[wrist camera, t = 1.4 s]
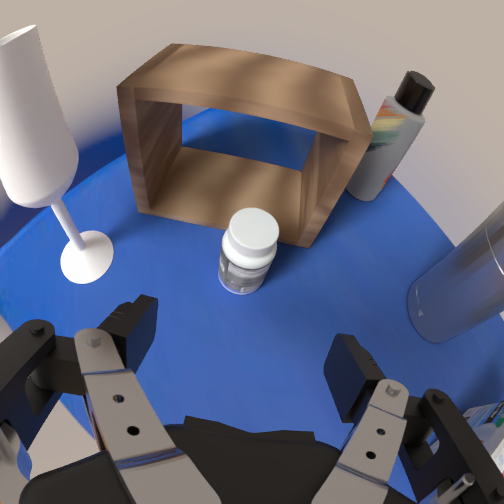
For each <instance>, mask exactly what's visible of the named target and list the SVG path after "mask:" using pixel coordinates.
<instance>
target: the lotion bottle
mask: <svg viewBox="0 0 504 504" xmlns="http://www.w3.org/2000/svg"><path fill="white" fill-rule="evenodd" d="M434 90H435V87H434V86H433V85H432V83H431V82H430V81H429V80H428V79H427V78H426V77H425V76H423V75H422V74H420V73H418V72H415V71H410V72H409V71H407V73H406V75H405V77H404V79H403V81H402V82H401V85H400V86H399V88H398V90H397V93H396V94H395V96H387V97H386V98H385V100H384V102H383V104H382V106H381V108H380V110H379V112H378V114H377V116H376V118H375V120H374V122H373V124H372V126H371V129H372V132H373V135H374V137H373V139H372V140H371V142H370V144H369V146H368V148H367V150H366V152H365V153H364V155H363V157H362V159H361V161H360V162H359V164H358V166H357V168H356V170H355V171H354V173H353V175H352V177H351V178H350V180H349V182H348V184H347V185H346V189H347V191H348V192H349V193H350V194H351V195H352V196H354V197H355V198H357V199H359V200H362V201H372V200H374V199H375V198H376V197H377V195H378V194H379V193H380V191H381V190H382V188H383V187H384V185H385V184H386V182H387V181H388V180H389V178H390V177H391V175H392V173H393V172H394V171H395V169H396V168H397V166H398V164H399V163H400V161H401V160H402V158H403V157H404V155H405V154H406V152H407V150H408V149H409V147H410V146H411V144H412V143H413V141H414V140H415V138H416V136H417V135H418V133H419V131H420V130H421V128H422V126H423V125H424V123H425V119H424V117H423V115H422V112H423V110H424V109H425V107H426V105H427V103H428V101H429V100H430V98H431V96H432V94H433V92H434Z"/></svg>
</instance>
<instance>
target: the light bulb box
mask: <svg viewBox="0 0 504 504" xmlns="http://www.w3.org/2000/svg"><path fill="white" fill-rule="evenodd" d="M463 417H464V418H465V419H466V421H467V422H468V424H469V425H470V426H471V428H472V429H473V431H474V432H475V434H476V435H477V436H478V438H479V439H480V441H481V442H482V444H483V445H484V447H485V448H486V450H487V451H488V453H489V454H490V456H491V457H492V459H493V460H494V462H495V464H496V465H497V467H498V468H499V470H500V472H501V473H502V475H503V476H504V401H501V402H497V403H493V404H489V405H484V406H479V407H474V408H469V409H468V410H467V411H466V412H465V413H464V414H463ZM430 448H431V450H432V452H433V454H435V452H436V451H437V450H438V448H439V439H438V440H437V441H436V442H435V443H434V444H432V445H431V446H430Z"/></svg>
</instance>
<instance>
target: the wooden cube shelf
mask: <svg viewBox="0 0 504 504" xmlns="http://www.w3.org/2000/svg"><path fill="white" fill-rule="evenodd" d="M117 95H118V104H119V112H120V119H121V126H122V132H123V138H124V144H125V150H126V156H127V161H128V166H129V172H130V177H131V181H132V186H133V191H134V195H135V200H136V204H137V208H138V212H139V213H144V214H149V215H154V216H159V217H164V218H169V219H174V220H178V221H183V222H188V223H193V224H198V225H203V226H207V227H212V228H217V229H222V230H227V229H228V227H229V224H230V220H231V218H232V217H233V215H234V214H235V213H236V212H238V211H239V210H241V209H244V208H258V209H262V210H264V211H266V212H268V213H269V214H271V215H272V216H273V217H274V219H275V220H276V221H277V224H278V226H279V236H278V239H277V242H282V243H286V244H291V245H295V246H300V247H304V248H308V249H309V248H310V246H311V245H312V243H313V241H314V240H315V238H316V236H317V235H318V233H319V231H320V230H321V228H322V226H323V225H324V223H325V221H326V220H327V218H328V216H329V215H330V213H331V211H332V210H333V208H334V206H335V204H336V203H337V201H338V199H339V198H340V196H341V194H342V192H343V191H344V189H345V187H346V185H347V184H348V182H349V180H350V178H351V177H352V175H353V173H354V171H355V170H356V168H357V166H358V164H359V162H360V161H361V159H362V157H363V155H364V153H365V152H366V150H367V148H368V146H369V144H370V142H371V140H372V139H373V137H374V135H373V132H372V129H371V126H370V124H369V121H368V118H367V115H366V112H365V109H364V107H363V104H362V102H361V99H360V97H359V94H358V91H357V89H356V86H355V84H354V82H353V80H352V79H350V78H348V77H345V76H341V75H339V74H336V73H333V72H330V71H326V70H323V69H320V68H317V67H313V66H310V65H306V64H302V63H298V62H294V61H290V60H287V59H282V58H278V57H273V56H269V55H264V54H258V53H253V52H247V51H241V50H235V49H228V48H220V47H211V46H201V45H188V44H170V45H169V46H167V47H166V48H165V49H163V50H162V51H161V52H159V53H158V54H156V55H155V56H154V57H152V58H151V59H150V60H148V61H147V62H146V63H144V64H143V65H142V66H141V67H140V68H138V69H137V70H136V71H134V72H133V73H132V74H131V75H130V76H128V77H127V78H126V79H125V80H124V81H123V82H121V83H120V84H119V85H118V86H117ZM182 104H187V105H195V106H202V107H209V108H215V109H221V110H227V111H233V112H238V113H243V114H248V115H253V116H258V117H263V118H267V119H272V120H276V121H280V122H284V123H288V124H292V125H296V126H300V127H303V128H307V129H311V130H314V131H317V133H316V136H315V138H314V141H313V143H312V146H311V148H310V151H309V154H308V156H307V159H306V161H305V164H304V166H303V169H302V171H298V170H294V169H290V168H286V167H282V166H278V165H274V164H269V163H265V162H261V161H256V160H252V159H247V158H242V157H237V156H232V155H227V154H222V153H217V152H211V151H206V150H200V149H194V148H188V147H182Z"/></svg>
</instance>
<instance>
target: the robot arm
mask: <svg viewBox="0 0 504 504" xmlns="http://www.w3.org/2000/svg"><path fill="white" fill-rule="evenodd" d="M407 306H408V312H409V315H410V318H411V321H412V323H413V325H414V327H415V329H416V330H417V331H418V333H419V334H420V335H421V336H422V337H423V338H424V339H426V340H427V341H429V342H432V343H442V342H444V341H447V340H449V339H451V338H453V337H455V336H457V335H459V334H461V333H464V332H466V331H468V330H470V329H472V328H473V327H475V326H477V325H479V324H481V323H483V322H485V321H487V320H488V319H490V318H492V317H494V316H495V315H497V314H499V313H501V312H502V311H504V201H503V202H502V203H501V205H499V206H498V208H497V209H496V210H495V211H494V212H493V213H492V214H491V215H490V216H489V217H488V218H487V219H486V220H485V221H484V222H483V223H482V224H481V225H480V226H479V227H478V228H476V229H475V230H474V231H473V232H472V233H471V234H470V235H469V236H468V237H467V238H466V239H465V240H464V241H462V242H461V243H460V244H459V245H458V246H457V247H456V248H455V249H453V250H452V251H451V252H450V253H449V254H448V255H447V256H445V257H444V258H443V259H442V260H441V261H439V262H438V263H437V264H436V265H435V266H433V267H432V268H431V269H430V270H428V271H427V272H426V273H425V274H424V275H422V276H421V277H420V278H419V279H417V280H416V281H415V282H414V283H413V284H412V285H411V287H410V289H409V292H408V297H407ZM157 310H158V299H157V298H154V297H150V296H146V295H143V294H141V295H140V296H139V297H138V298H137V299H136V300H135V301H134V303H131V302H126V303H124V304H121V305H119V306H118V307H117V308H116V309H115V310H114V312H112V313H111V314H110V315H109V316H108V317H107V318H106V319H105V320H104V321H103V322H102V323H101V324H100V325H99V326H98V327H97V328H87V329H83V330H80V331H79V332H77V333H76V334H75V337H74V338H69V337H63V336H57V335H55V329H54V326H53V325H52V324H51V323H50V322H48V321H45V320H40V319H35V320H30V321H27V322H25V323H24V324H22V325H21V326H20V327H19V328H18V329H16V330H15V331H14V332H13V333H12V334H11V335H9V336H8V337H7V338H6V339H5V340H4V341H3V342H1V343H0V504H417V503H418V504H504V476H503V475H502V473H501V472H500V470H499V468H498V467H497V465H496V464H495V462H494V460H493V459H492V457H491V456H490V454H489V453H488V451H487V450H486V448H485V447H484V445H483V444H482V442H481V441H480V439H479V438H478V436H477V435H476V434H475V432H474V431H473V429H472V428H471V426H470V425H469V424H468V422H467V421H466V419H465V418H464V417H463V415H462V414H461V412H460V411H459V410H458V408H457V407H456V406H455V404H454V403H453V402H452V400H451V399H450V398H449V396H448V395H447V394H445V393H444V392H442V391H440V390H437V389H428V390H426V392H425V393H424V395H423V397H422V398H418V397H413V396H409V392H408V390H407V388H406V387H405V386H404V385H402V384H401V383H399V382H397V381H394V380H390V379H387V378H386V377H385V375H384V374H383V372H382V371H381V369H380V368H379V366H377V363H376V362H375V360H374V359H373V357H372V356H371V354H370V353H369V352H368V351H367V350H365V349H364V348H363V347H362V346H360V344H359V343H358V341H357V340H356V338H355V337H354V336H353V335H347V334H337V335H336V336H335V338H334V340H333V343H332V346H331V348H330V351H329V353H328V356H327V358H326V361H325V364H324V375H325V378H326V381H327V383H328V386H329V389H330V391H331V394H332V397H333V399H334V402H335V405H336V407H337V410H338V413H339V415H340V418H341V421H342V423H354V426H353V427H352V429H351V430H350V432H349V434H348V436H347V437H346V439H345V441H344V442H343V444H342V445H341V447H340V449H337V448H335V447H333V446H331V445H329V444H326V443H323V442H320V441H316V440H315V436H314V432H309V431H289V430H281V431H271V432H260V433H250V432H246V431H243V430H240V429H237V428H234V427H231V426H228V425H225V424H222V423H220V422H216V421H210V420H205V419H200V418H195V417H191V416H185V420H184V424H169V425H162V424H161V422H160V420H159V419H158V417H157V415H156V414H155V412H154V410H153V408H152V406H151V405H150V403H149V401H148V399H147V397H146V396H145V394H144V392H143V390H142V388H141V386H140V384H139V382H138V380H137V378H136V376H135V373H136V371H137V370H138V368H139V366H140V364H141V362H142V361H143V359H144V357H145V355H146V353H147V352H148V350H149V348H150V346H151V345H152V343H153V340H154V337H155V332H156V321H157ZM30 374H31V375H30ZM27 378H28V379H27ZM63 393H69V394H75V395H82V397H83V400H84V404H85V407H86V411H87V414H88V417H89V421H90V424H91V427H92V430H93V433H94V436H95V439H96V442H97V445H98V448H99V451H100V452H98V453H96V454H94V455H91V456H89V457H86V458H84V459H81V460H79V461H76V462H74V463H71V464H68V465H65V466H63V467H60V468H57V469H54V470H51V471H48V472H45V473H43V474H40V475H38V476H36V477H34V478H33V479H31V480H30V472H31V469H32V461H31V458H30V456H29V454H28V453H27V451H28V449H29V447H30V445H31V444H32V442H33V440H34V439H35V437H36V435H37V433H38V432H39V430H40V428H41V427H42V425H43V423H44V422H45V420H46V419H47V417H48V415H49V414H50V412H51V411H52V409H53V407H54V406H55V404H56V403H57V401H58V400H59V398H60V397H61V395H62V394H63ZM433 431H434V432H435V434H436V436H437V437H438V439H439V448H438V450H437V451H436V452H435V454H433V452H432V450H431V448H430V447H429V445H428V443H427V441H426V440H427V438H428V437H429V436H430V434H431V433H432V432H433ZM397 454H398V455H399V457H400V460H401V462H402V465H403V467H404V469H405V472H406V474H407V477H408V479H409V482H410V484H411V487H412V490H413V492H414V495H415V497H416V500H417V503H415V502H414V501H412V500H411V499H409V498H407V497H406V496H404V495H403V494H401V493H400V492H398V491H397V490H395V489H394V488H392V487H391V486H389V485H388V484H387V482H388V479H389V476H390V474H391V471H392V468H393V465H394V463H395V460H396V457H397Z"/></svg>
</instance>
